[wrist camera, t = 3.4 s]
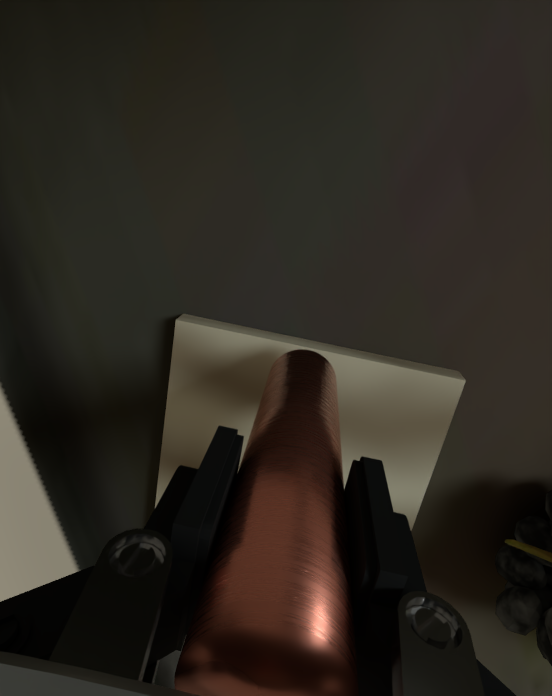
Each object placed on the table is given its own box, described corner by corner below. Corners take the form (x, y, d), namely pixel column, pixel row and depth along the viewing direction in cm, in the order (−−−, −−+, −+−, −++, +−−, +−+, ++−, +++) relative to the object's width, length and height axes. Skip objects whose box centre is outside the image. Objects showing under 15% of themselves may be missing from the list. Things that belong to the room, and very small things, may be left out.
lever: (260, 336, 19) (140, 595, 7) (358, 356, 19) (427, 663, 6) (205, 641, 26) (90, 1070, 13) (278, 658, 26) (234, 1110, 13)
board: (183, 313, 22) (149, 341, 18) (458, 371, 22) (492, 414, 17) (152, 579, 28) (120, 649, 24) (366, 630, 27) (374, 710, 23)
